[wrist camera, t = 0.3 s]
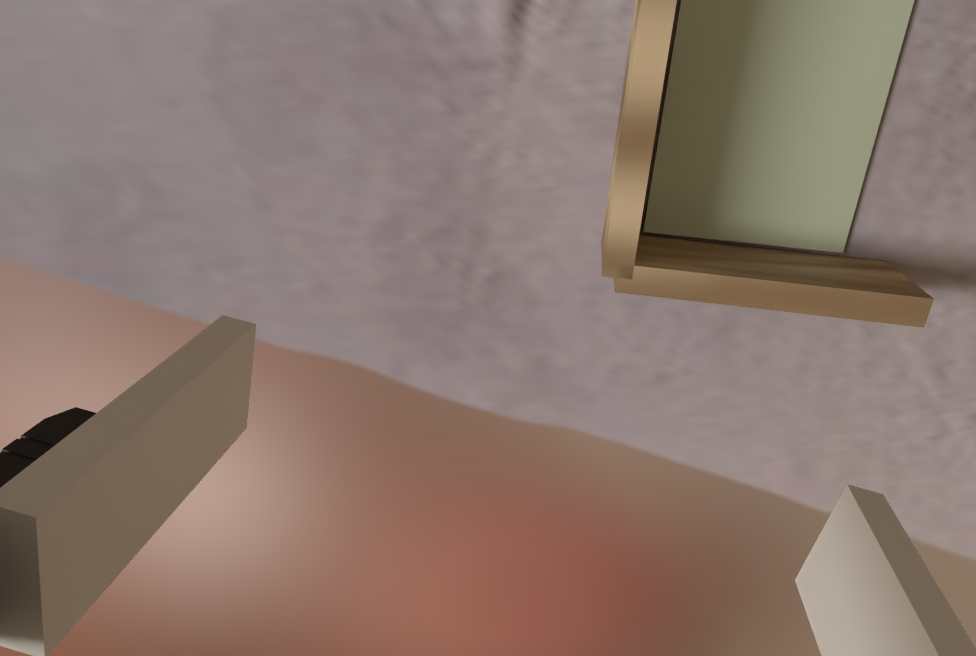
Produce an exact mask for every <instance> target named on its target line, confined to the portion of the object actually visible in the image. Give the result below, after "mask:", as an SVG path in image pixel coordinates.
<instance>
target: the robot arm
mask: <svg viewBox="0 0 976 656" xmlns="http://www.w3.org/2000/svg"><path fill="white" fill-rule="evenodd" d="M255 331H256V324H253V323H250V322H246V321H242V320H238V319H235V318H231V317H227V316H224V315H223V316H221V317H220V318H219V319H217V320H216V321H215V322H214V323H212V324H211V325H210V326H209V327H207V328H206V329H205V330H203V331H202V332H201V333H199V334H198V335H197V336H195V338H193V339H192V340H190V341H189V342H188V343H187V344H185V345H184V346H183V347H181V348H180V349H179V350H177V351H176V352H175V353H174V354H172V355H171V356H170V357H168V358H167V359H166V360H165V361H164V362H162V363H161V364H160V365H158V366H157V367H156V368H154V369H153V370H152V371H150V372H149V373H148V374H146V375H145V376H144V377H143V378H141V379H140V380H139V381H137V382H136V383H135V384H134V385H132V386H131V387H130V388H128V389H127V390H126V391H125V392H123V393H122V394H121V395H119V396H118V397H117V398H116V399H114V400H113V401H112V402H110V403H109V404H108V405H106V406H105V407H104V408H103V409H102V410H100V411H99V412H98V413H94V412H90V411H87V410H83V409H80V408H76V407H75V408H73V409H70V410H67V411H65V412H62V413H59V414H57V415H54V416H51V417H48V418H46V419H44V420H43V421H41V422H40V423H38V424H37V425H35V426H34V427H33V428H31V429H30V430H28V431H27V432H26V433H24V434H23V435H21V438H20V439H16V440H14V441H13V442H12V443H10V444H9V445H8V446H6V447H5V448H3V449H2V452H1V453H0V646H2V647H6V648H9V649H12V650H16V651H19V652H22V653H26V654H29V655H33V656H48V655H49V654H50V653H51V652H52V650H53V649H54V648H55V647H56V646H57V645H58V644H59V642H60V641H61V640H62V639H63V638H64V636H65V635H66V634H67V633H68V632H69V631H70V630H71V629H72V627H73V626H74V625H75V624H76V623H77V622H78V621H79V619H80V618H81V617H82V616H83V615H84V614H85V613H86V611H87V610H88V609H89V608H90V607H91V606H92V604H93V603H94V602H95V601H96V600H97V599H98V598H99V596H100V595H101V594H102V593H103V592H104V591H105V590H106V588H107V587H108V586H109V585H110V584H111V583H112V581H113V580H114V579H115V578H116V577H117V576H118V575H119V573H120V572H121V571H122V570H123V569H124V568H125V567H126V566H127V564H128V563H129V562H130V561H131V560H132V559H133V557H134V556H135V555H136V554H137V553H138V552H139V551H140V549H141V548H142V547H143V546H144V545H145V544H146V543H147V541H148V540H149V539H150V538H151V537H152V535H154V533H155V532H156V531H157V530H158V529H159V528H160V526H161V525H162V524H163V523H164V522H165V521H166V520H167V519H168V517H169V516H170V515H171V514H172V513H173V512H174V511H175V509H176V508H177V507H178V506H179V505H180V504H181V503H182V501H183V500H184V499H185V498H186V497H187V496H188V494H189V493H190V492H191V491H192V490H193V489H194V488H195V486H196V485H197V484H198V483H199V482H200V481H201V480H202V478H203V477H204V476H205V475H206V474H207V473H208V471H209V470H210V469H211V468H212V467H213V466H214V465H215V464H216V462H217V461H218V460H219V459H220V458H221V457H222V456H223V454H224V453H225V452H226V451H227V450H228V449H229V448H230V446H231V445H232V444H233V443H234V442H235V441H236V439H237V438H238V437H239V436H240V435H241V434H242V433H243V431H244V430H245V429H246V428H247V417H248V407H249V395H250V385H251V374H252V363H253V352H254V342H255ZM795 582H796V584H797V587H798V590H799V593H800V596H801V599H802V602H803V604H804V607H805V610H806V613H807V615H808V619H809V622H810V624H811V627H812V630H813V633H814V635H815V638H816V642H817V644H818V647H819V650H820V653H821V656H976V648H975V647H974V645H973V643H972V641H971V640H970V638H969V636H968V635H967V633H966V631H965V630H964V628H963V626H962V625H961V623H960V622H959V620H958V618H957V617H956V615H955V613H954V612H953V610H952V608H951V607H950V605H949V603H948V602H947V600H946V598H945V597H944V595H943V593H942V592H941V590H940V588H939V587H938V585H937V583H936V582H935V580H934V578H933V577H932V575H931V573H930V572H929V570H928V568H927V567H926V565H925V564H924V562H923V560H922V558H921V557H920V555H919V553H918V552H917V550H916V548H915V547H914V545H913V543H912V542H911V540H910V538H909V537H908V535H907V533H906V532H905V530H904V528H903V527H902V525H901V523H900V522H899V520H898V518H897V517H896V515H895V513H894V512H893V510H892V508H891V507H890V505H889V503H888V502H887V500H886V498H885V497H884V495H883V494H880V493H877V492H873V491H869V490H866V489H862V488H858V487H855V486H851V485H847V486H846V488H845V489H844V491H843V493H842V495H841V497H840V499H839V500H838V502H837V504H836V506H835V508H834V510H833V511H832V513H831V515H830V517H829V519H828V521H827V523H826V524H825V526H824V528H823V530H822V532H821V534H820V536H819V537H818V539H817V541H816V543H815V544H814V547H813V548H812V550H811V552H810V554H809V555H808V557H807V559H806V561H805V563H804V565H803V567H802V568H801V570H800V572H799V574H798V576H797V578H796V579H795Z"/></svg>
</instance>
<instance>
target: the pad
mask: <svg viewBox="0 0 976 656" xmlns="http://www.w3.org/2000/svg"><path fill="white" fill-rule="evenodd" d="M913 4H914V0H681V3H680V9H679V15H678V21H677V27H676V33H675V39H674V45H673V52H672V58H671V64H670V70H669V76H668V82H667V88H666V95H665V101H664V107H663V113H662V119H661V125H660V131H659V137H658V144H657V150H656V156H655V162H654V168H653V174H652V180H651V187H650V193H649V199H648V205H647V211H646V217H645V223H644V229H643V232H648V233H658V234H667V235H677V236H686V237H695V238H705V239H714V240H724V241H733V242H743V243H752V244H761V245H771V246H780V247H790V248H799V249H809V250H818V251H828V252H837V253H843V251H844V248H845V244H846V241H847V237H848V233H849V230H850V226H851V223H852V219H853V216H854V212H855V209H856V205H857V202H858V198H859V195H860V191H861V188H862V184H863V181H864V177H865V173H866V170H867V166H868V163H869V159H870V156H871V152H872V149H873V145H874V142H875V138H876V135H877V131H878V128H879V124H880V121H881V117H882V113H883V110H884V106H885V103H886V99H887V96H888V92H889V89H890V85H891V82H892V78H893V75H894V71H895V68H896V64H897V60H898V57H899V53H900V50H901V46H902V43H903V39H904V36H905V32H906V29H907V25H908V22H909V18H910V15H911V11H912V8H913Z"/></svg>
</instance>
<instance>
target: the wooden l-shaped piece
mask: <svg viewBox="0 0 976 656" xmlns="http://www.w3.org/2000/svg"><path fill="white" fill-rule="evenodd" d="M676 2H677V0H636V2H635V9H634V16H633V23H632V30H631V37H630V44H629V52H628V59H627V66H626V73H625V80H624V87H623V95H622V102H621V109H620V116H619V123H618V130H617V137H616V145H615V152H614V159H613V166H612V173H611V180H610V188H609V195H608V202H607V209H606V216H605V223H604V230H603V238H602V276H604V277H612V278H614V286H615V292H620V293H629V294H638V295H646V296H655V297H664V298H672V299H681V300H690V301H699V302H707V303H716V304H725V305H733V306H742V307H751V308H759V309H768V310H777V311H785V312H794V313H803V314H811V315H820V316H829V317H837V318H846V319H855V320H863V321H872V322H881V323H889V324H898V325H907V326H915V327H924V326H925V323H926V320H927V317H928V314H929V311H930V308H931V306H932V303H933V300H934V299H933V298H932V297H931V296H930V295H928V294H927V293H926V292H925V291H923V290H922V289H921V288H920V287H918V286H917V285H916V284H915V283H913V282H912V281H911V280H910V279H909V278H907V277H906V276H905V275H904V274H902V273H901V272H900V271H899V270H897V269H896V268H895V267H894V266H892V265H891V264H890V263H889V262H887V261H879V260H870V259H861V258H851V257H842V256H832V255H823V254H814V253H804V252H795V251H786V250H776V249H767V248H757V247H748V246H739V245H729V244H720V243H710V242H701V241H692V240H682V239H673V238H663V237H654V236H645V235H639V232H640V226H641V220H642V214H643V207H644V201H645V195H646V189H647V183H648V176H649V170H650V164H651V158H652V152H653V145H654V139H655V133H656V127H657V120H658V114H659V108H660V102H661V96H662V89H663V83H664V77H665V71H666V65H667V58H668V52H669V46H670V40H671V33H672V27H673V21H674V15H675V9H676Z"/></svg>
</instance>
